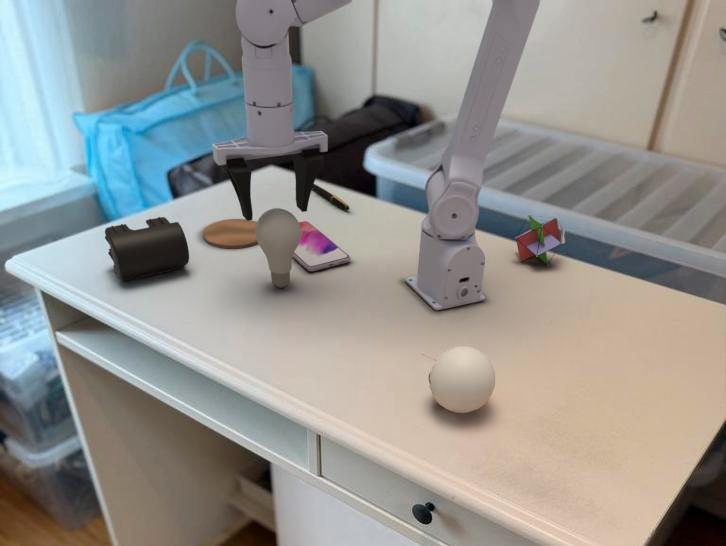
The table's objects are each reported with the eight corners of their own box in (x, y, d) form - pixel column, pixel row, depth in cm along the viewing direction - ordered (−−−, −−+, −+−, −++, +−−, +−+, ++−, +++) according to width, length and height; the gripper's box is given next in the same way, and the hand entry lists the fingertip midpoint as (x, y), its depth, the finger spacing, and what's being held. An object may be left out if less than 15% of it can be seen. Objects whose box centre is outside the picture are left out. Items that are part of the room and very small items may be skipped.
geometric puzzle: (516, 260, 105) (554, 214, 102) (495, 241, 110) (531, 196, 106) (545, 283, 109) (582, 239, 106) (523, 263, 114) (559, 220, 111)
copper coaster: (275, 242, 112) (275, 239, 112) (212, 252, 109) (212, 249, 109) (255, 218, 119) (254, 215, 119) (195, 227, 116) (195, 224, 115)
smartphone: (309, 268, 104) (266, 229, 114) (309, 273, 105) (266, 234, 114) (352, 257, 107) (307, 220, 116) (352, 262, 107) (307, 225, 117)
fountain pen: (303, 185, 130) (303, 177, 129) (309, 184, 130) (309, 176, 129) (346, 213, 121) (346, 204, 120) (352, 212, 122) (352, 203, 121)
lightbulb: (286, 272, 105) (282, 197, 97) (311, 289, 102) (309, 212, 94) (251, 284, 102) (244, 207, 95) (275, 301, 99) (270, 223, 91)
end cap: (124, 290, 100) (114, 244, 95) (109, 269, 104) (99, 224, 100) (192, 275, 104) (186, 229, 99) (176, 255, 108) (169, 211, 103)
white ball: (504, 413, 81) (515, 358, 76) (451, 434, 78) (459, 378, 73) (451, 370, 87) (458, 316, 82) (401, 387, 84) (405, 332, 79)
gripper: (312, 86, 91) (313, 194, 100) (200, 97, 86) (212, 209, 95) (334, 102, 86) (334, 213, 95) (218, 114, 81) (229, 230, 91)
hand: (275, 213), depth 95 cm, fingers open, 7 cm apart
